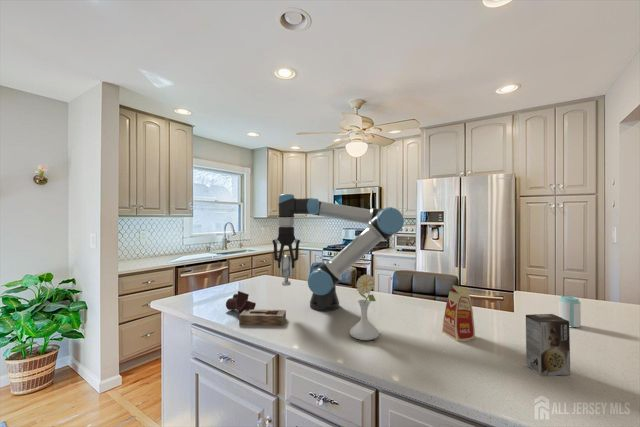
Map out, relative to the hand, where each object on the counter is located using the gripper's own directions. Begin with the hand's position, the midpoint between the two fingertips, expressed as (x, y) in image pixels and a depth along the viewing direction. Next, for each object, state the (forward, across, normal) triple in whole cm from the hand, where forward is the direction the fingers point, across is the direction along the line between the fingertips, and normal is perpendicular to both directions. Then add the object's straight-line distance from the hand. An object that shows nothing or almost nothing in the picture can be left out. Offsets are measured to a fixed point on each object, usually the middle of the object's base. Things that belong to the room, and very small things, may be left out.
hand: (286, 275), depth 140 cm
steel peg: (+5, 0, 0) cm, 5 cm away
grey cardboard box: (+19, -88, +47) cm, 101 cm away
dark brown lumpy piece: (+18, +22, +1) cm, 28 cm away
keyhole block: (+19, +8, +11) cm, 23 cm away
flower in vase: (+19, -35, +26) cm, 47 cm away
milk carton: (+19, -72, +22) cm, 78 cm away
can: (+19, -124, +9) cm, 126 cm away
